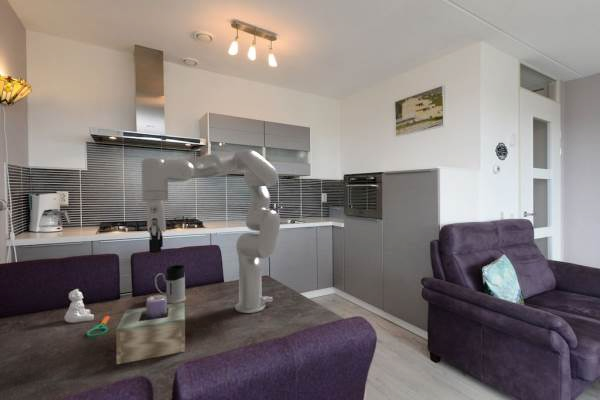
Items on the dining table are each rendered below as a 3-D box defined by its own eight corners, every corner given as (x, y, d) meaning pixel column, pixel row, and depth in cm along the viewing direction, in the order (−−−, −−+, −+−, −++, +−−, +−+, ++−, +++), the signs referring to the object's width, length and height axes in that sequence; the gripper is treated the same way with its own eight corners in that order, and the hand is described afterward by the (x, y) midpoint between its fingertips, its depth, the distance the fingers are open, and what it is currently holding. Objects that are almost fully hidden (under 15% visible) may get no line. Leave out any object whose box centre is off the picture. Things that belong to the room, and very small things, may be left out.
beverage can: (157, 350, 89) (157, 302, 89) (142, 347, 91) (141, 300, 91) (171, 341, 95) (171, 295, 95) (156, 338, 97) (156, 294, 97)
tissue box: (184, 330, 103) (184, 302, 103) (185, 351, 89) (184, 319, 89) (126, 340, 96) (126, 309, 96) (116, 364, 82) (116, 329, 82)
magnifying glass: (104, 337, 99) (104, 332, 99) (83, 340, 97) (83, 335, 97) (116, 319, 113) (116, 315, 113) (97, 321, 111) (97, 317, 111)
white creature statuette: (95, 320, 112) (94, 289, 112) (66, 327, 105) (66, 294, 105) (89, 313, 118) (88, 284, 118) (62, 320, 112) (61, 289, 112)
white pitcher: (190, 298, 135) (189, 266, 135) (161, 308, 123) (160, 273, 123) (178, 295, 139) (178, 264, 139) (149, 304, 127) (149, 270, 127)
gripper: (167, 196, 87) (168, 253, 87) (169, 196, 103) (169, 244, 103) (138, 197, 84) (139, 256, 84) (145, 196, 100) (146, 246, 100)
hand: (156, 249), depth 94 cm, fingers open, 9 cm apart
